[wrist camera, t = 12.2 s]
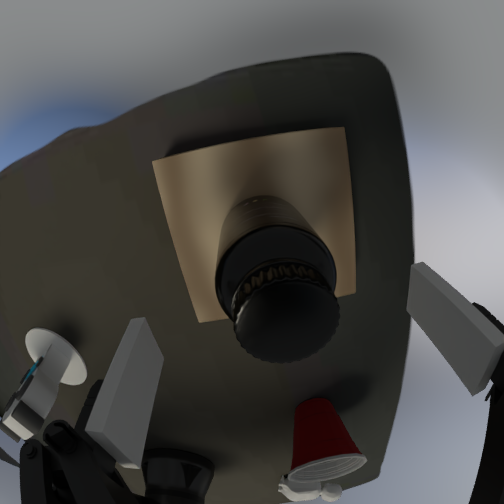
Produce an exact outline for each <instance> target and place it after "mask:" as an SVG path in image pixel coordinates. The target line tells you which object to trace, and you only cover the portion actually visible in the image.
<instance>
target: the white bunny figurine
mask: <svg viewBox="0 0 504 504" xmlns="http://www.w3.org/2000/svg"><path fill="white" fill-rule="evenodd" d="M279 485H280V486H279V489H278V491H279V492H280V491H281V493H283V494H284V495H285V496H286V497H287V498H288V499H290V500H292V501H305V500H313V499H315V498H317V497H318V496H319V495H321V497H322V499H323V500H325V501H328V502H333V501H336V500H337V499H339V498H340V497H341V493H342V488H341V486H340V485H338V484H331V483H327V484H325V485H324V487H323V488H321V483H320V482H309V483H299V482H292V481H290V480H288V479H287V478H286V479H284V475H282V478H281V480H280V483H279Z"/></svg>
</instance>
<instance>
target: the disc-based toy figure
mask: <svg viewBox="0 0 504 504" xmlns="http://www.w3.org/2000/svg"><path fill="white" fill-rule="evenodd" d="M26 347H27V350H28V352H29V354H30V356H31V357H32V359H33V360H34V362H35V364H34V365H33V367H32V368H31V370H30V369H29V370H28V371H27V373H26V374H25V375H24V377H23V378H22V380H21V382H20V383H21V384H22V385H21V386H20V388H19V389H18V391H17V392H15V393H14V394H13V395H12V397H11V398H10V400H9V402H8V403H7V405H6V407H5V411H6V412H5V414H4V416H3V418H2V419H1V421H0V429H1V430H2V431H3V432H5V433H6V434H7V435H8V436H10V437H11V438H12V439H13V440H15V441H16V442H17V443H18V442H19V441H20V439H21V438H22V439H24V440H26V439H28V438H30V437H31V436H32V435H36V434H37V433H38V432H39V431H40V429H41V427H42V425H43V423H44V419H45V418H46V416H47V415H48V413H49V411H50V409H51V408H52V406H53V404H54V402H55V400H56V397H57V394H58V391H59V386H58V385H59V383H60V382H62V383H65V384H69V385H79V384H81V383H83V382H84V381H85V379H86V377H87V367H86V364H85V362H84V360H83V358H82V357H81V355H80V354H79V352H78V351H77V350H76V349H75V348H74V347H73V346H72V345H71V344H70V343H69V342H68V341H67V340H65V339H64V338H63V337H61V336H60V335H58V334H57V333H55V332H53V331H51V330H48V329H45V328H39V327H37V328H33V329H31V330H30V331H29V332H28V333H27V335H26Z"/></svg>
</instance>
